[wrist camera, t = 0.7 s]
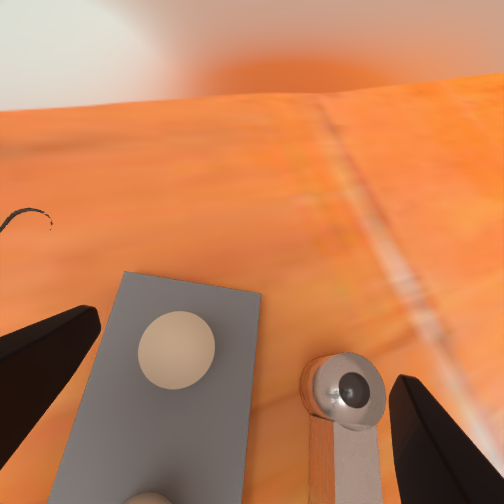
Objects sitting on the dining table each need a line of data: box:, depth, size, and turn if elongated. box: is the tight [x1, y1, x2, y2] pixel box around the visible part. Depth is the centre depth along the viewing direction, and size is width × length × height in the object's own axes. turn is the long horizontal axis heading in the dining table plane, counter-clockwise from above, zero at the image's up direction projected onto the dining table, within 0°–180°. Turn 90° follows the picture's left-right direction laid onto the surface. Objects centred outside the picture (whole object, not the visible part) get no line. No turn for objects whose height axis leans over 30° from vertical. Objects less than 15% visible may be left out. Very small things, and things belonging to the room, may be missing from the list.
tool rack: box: [47, 271, 261, 504], centre depth 17 cm, size 21×11×6 cm, turn 174°
